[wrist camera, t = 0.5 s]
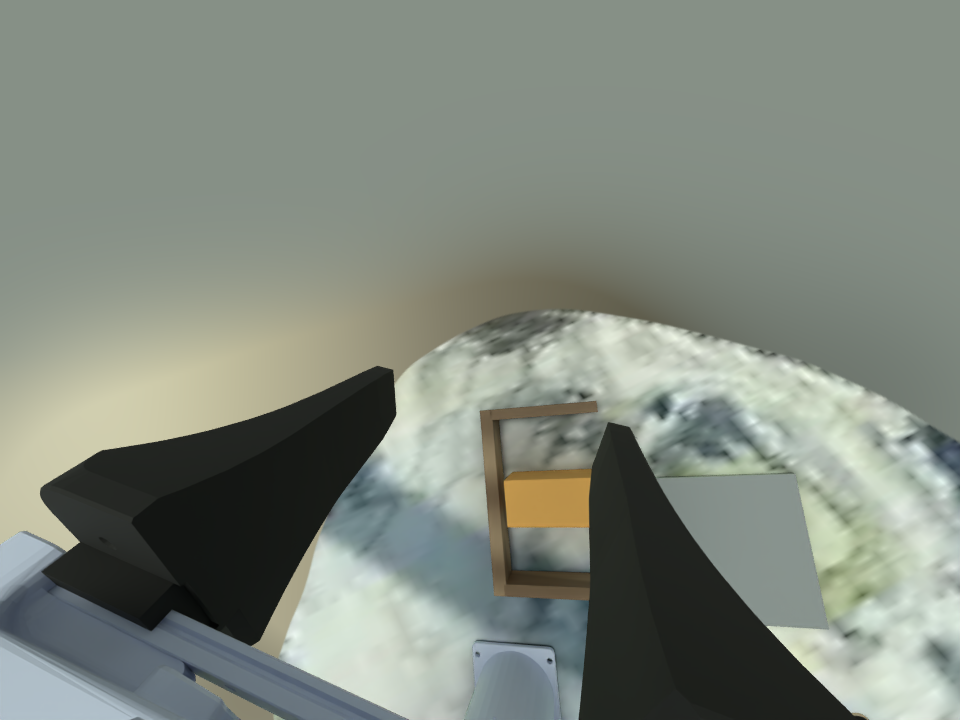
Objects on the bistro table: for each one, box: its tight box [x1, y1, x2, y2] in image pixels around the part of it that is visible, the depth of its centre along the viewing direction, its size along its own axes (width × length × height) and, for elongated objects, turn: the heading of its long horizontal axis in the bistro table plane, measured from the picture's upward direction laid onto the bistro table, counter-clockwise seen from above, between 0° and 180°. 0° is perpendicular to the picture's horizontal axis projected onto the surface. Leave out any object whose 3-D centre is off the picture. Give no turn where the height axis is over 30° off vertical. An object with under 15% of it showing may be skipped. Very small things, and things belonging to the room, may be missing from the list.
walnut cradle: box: [480, 401, 598, 600], centre depth 34 cm, size 17×11×3 cm, turn 5°
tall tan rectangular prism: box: [504, 469, 592, 527], centre depth 33 cm, size 4×9×5 cm, turn 95°
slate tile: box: [656, 473, 829, 629], centre depth 31 cm, size 12×12×1 cm
